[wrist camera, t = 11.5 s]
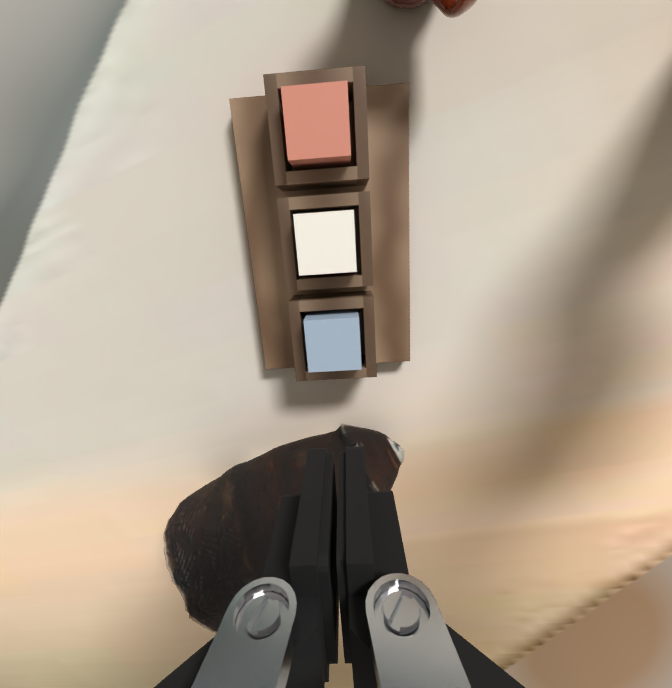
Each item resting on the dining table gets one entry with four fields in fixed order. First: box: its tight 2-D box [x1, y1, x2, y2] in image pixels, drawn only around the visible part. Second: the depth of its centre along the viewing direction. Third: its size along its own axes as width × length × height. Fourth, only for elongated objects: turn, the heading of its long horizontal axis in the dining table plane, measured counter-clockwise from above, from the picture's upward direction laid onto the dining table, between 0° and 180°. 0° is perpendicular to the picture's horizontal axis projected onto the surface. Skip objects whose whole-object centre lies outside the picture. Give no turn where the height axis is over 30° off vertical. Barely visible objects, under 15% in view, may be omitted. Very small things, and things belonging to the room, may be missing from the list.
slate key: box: [304, 309, 362, 372], centre depth 34 cm, size 5×5×4 cm
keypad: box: [229, 65, 410, 381], centre depth 34 cm, size 16×26×6 cm, turn 4°
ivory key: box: [293, 210, 357, 276], centre depth 31 cm, size 5×5×4 cm
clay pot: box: [164, 424, 404, 633], centre depth 39 cm, size 15×15×25 cm
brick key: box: [281, 81, 351, 170], centre depth 28 cm, size 5×5×4 cm
